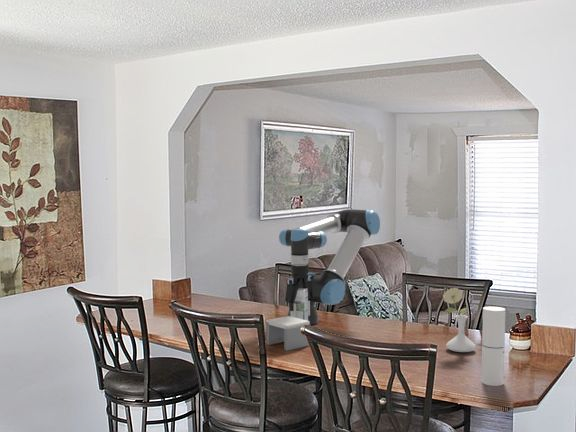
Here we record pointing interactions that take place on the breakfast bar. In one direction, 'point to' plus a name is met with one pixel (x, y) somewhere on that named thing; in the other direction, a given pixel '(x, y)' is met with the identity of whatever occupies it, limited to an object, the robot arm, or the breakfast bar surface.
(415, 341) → the breakfast bar surface
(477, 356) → the breakfast bar surface
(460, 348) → the flower in vase
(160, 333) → the breakfast bar surface
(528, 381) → the breakfast bar surface
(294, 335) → the low shelf
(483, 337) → the cylindrical container
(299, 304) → the syrup box
